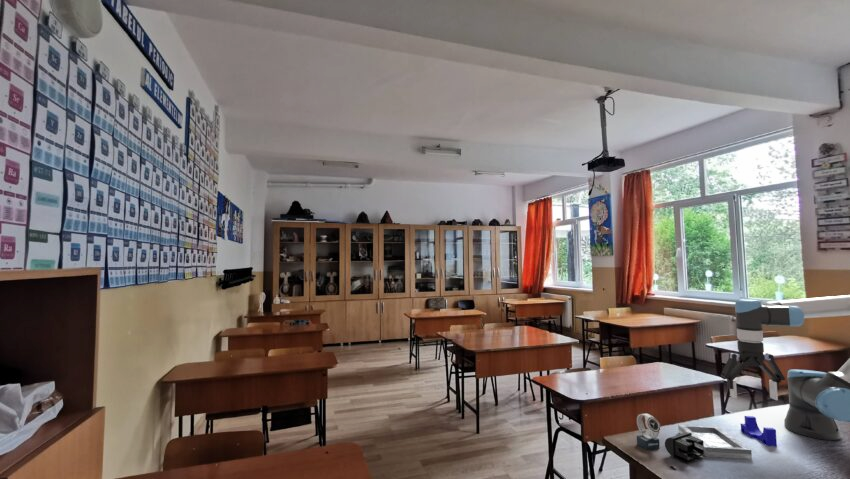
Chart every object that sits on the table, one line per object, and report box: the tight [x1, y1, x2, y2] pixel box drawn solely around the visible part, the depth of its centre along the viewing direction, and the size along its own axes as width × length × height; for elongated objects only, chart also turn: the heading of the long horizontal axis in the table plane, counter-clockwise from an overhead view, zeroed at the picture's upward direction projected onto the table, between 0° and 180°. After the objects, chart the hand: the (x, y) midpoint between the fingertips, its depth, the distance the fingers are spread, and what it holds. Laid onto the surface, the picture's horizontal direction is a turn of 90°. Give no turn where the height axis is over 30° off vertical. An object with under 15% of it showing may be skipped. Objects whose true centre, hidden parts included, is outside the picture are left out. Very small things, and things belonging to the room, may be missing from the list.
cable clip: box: [740, 415, 778, 448], centre depth 142 cm, size 12×4×6 cm, turn 170°
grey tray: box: [677, 424, 753, 460], centre depth 137 cm, size 14×18×3 cm
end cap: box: [664, 432, 705, 465], centre depth 129 cm, size 10×7×7 cm
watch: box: [636, 412, 661, 451], centre depth 137 cm, size 6×8×11 cm
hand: (753, 398), depth 143 cm, fingers open, 13 cm apart
